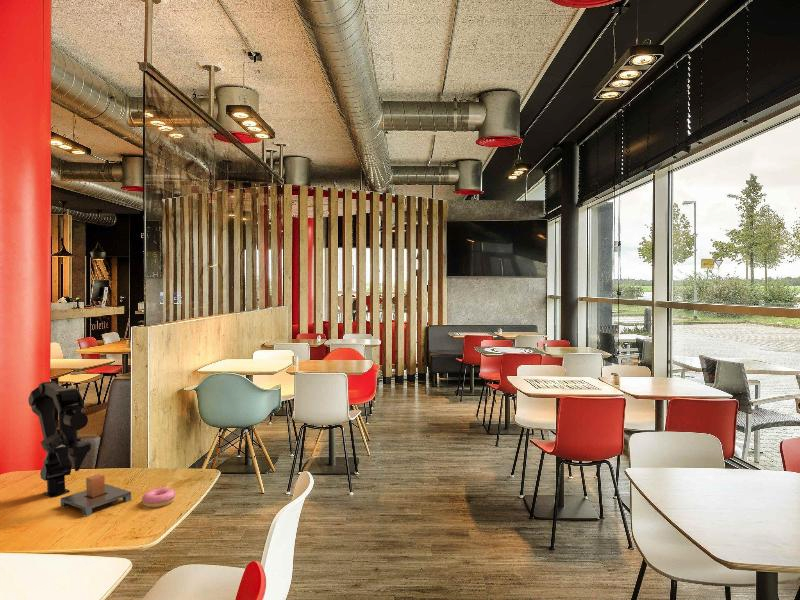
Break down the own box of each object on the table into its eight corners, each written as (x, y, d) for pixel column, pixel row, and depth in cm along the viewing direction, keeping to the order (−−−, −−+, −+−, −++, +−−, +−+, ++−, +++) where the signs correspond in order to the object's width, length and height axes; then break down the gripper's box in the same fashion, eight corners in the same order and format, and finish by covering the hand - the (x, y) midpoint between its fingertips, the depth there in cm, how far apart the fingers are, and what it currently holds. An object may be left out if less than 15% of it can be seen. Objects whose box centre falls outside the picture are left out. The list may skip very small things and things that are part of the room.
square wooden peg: (87, 504, 198) (86, 477, 197) (99, 500, 201) (98, 473, 201) (92, 506, 196) (91, 479, 195) (105, 502, 200) (104, 475, 199)
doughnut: (180, 496, 204) (179, 484, 204) (169, 508, 193) (169, 496, 193) (149, 497, 204) (148, 486, 204) (136, 510, 193) (136, 497, 193)
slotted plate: (60, 506, 196) (60, 498, 196) (105, 491, 210) (105, 483, 210) (86, 516, 188) (85, 507, 187) (131, 500, 201) (130, 491, 201)
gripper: (30, 427, 197) (32, 471, 198) (57, 433, 187) (59, 480, 188) (63, 420, 207) (64, 462, 207) (91, 426, 197) (93, 470, 197)
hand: (69, 468), depth 200 cm, fingers open, 9 cm apart
